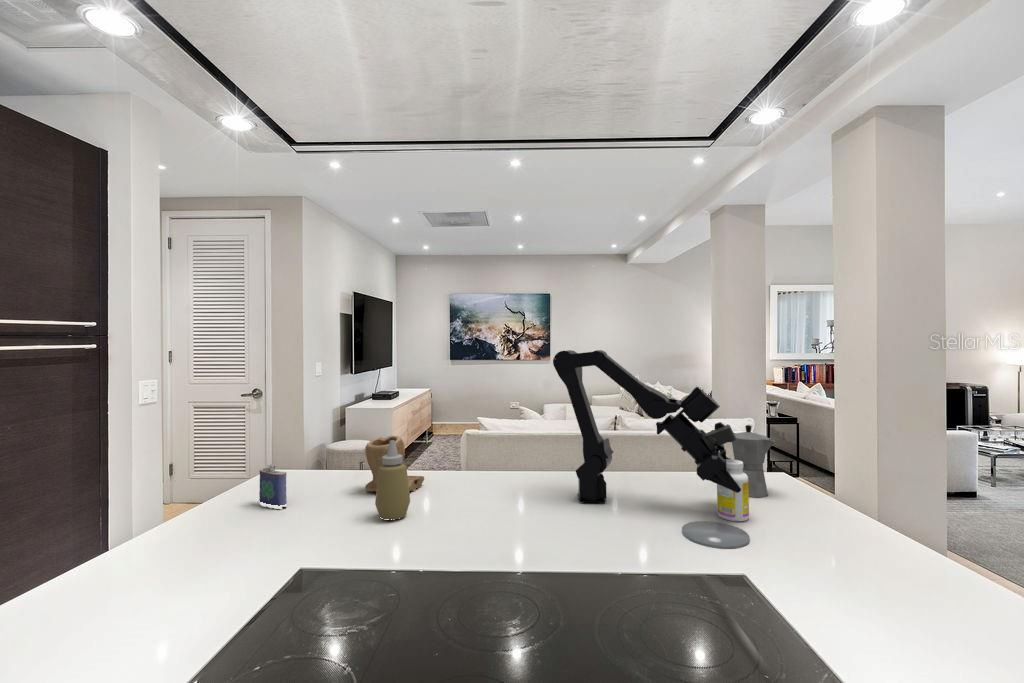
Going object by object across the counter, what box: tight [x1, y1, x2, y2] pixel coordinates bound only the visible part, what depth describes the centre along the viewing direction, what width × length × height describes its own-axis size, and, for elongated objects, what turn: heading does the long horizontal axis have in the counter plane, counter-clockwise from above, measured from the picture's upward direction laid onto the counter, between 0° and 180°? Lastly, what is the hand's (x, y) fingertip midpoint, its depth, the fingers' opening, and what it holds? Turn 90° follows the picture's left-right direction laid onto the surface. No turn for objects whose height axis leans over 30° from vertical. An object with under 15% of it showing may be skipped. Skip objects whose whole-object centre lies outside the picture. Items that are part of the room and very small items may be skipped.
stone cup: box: [364, 435, 425, 493], centre depth 133 cm, size 15×12×15 cm
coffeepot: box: [719, 424, 777, 499], centre depth 129 cm, size 15×9×18 cm, turn 44°
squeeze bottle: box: [374, 440, 411, 520], centre depth 113 cm, size 8×8×18 cm
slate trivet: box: [681, 520, 751, 550], centre depth 100 cm, size 13×13×1 cm
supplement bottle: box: [716, 458, 750, 522], centre depth 110 cm, size 7×7×13 cm
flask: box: [258, 463, 288, 506], centre depth 121 cm, size 9×3×11 cm, turn 61°
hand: (739, 487), depth 110 cm, fingers closed on supplement bottle, 7 cm apart
